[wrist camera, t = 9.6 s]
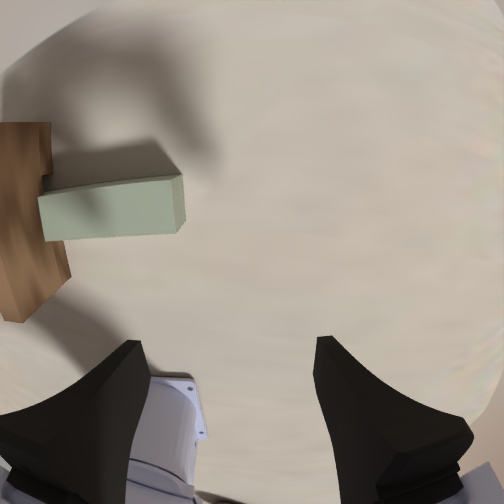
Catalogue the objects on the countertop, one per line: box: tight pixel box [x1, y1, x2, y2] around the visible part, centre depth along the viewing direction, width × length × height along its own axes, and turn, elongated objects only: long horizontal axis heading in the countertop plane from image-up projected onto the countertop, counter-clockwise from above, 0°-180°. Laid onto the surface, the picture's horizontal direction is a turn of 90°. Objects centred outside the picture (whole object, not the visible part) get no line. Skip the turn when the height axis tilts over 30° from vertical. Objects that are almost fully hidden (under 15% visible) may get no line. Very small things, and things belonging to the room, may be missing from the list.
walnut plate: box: [0, 122, 71, 323], centre depth 15 cm, size 12×2×7 cm, turn 2°
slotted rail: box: [38, 174, 186, 242], centre depth 17 cm, size 3×22×3 cm, turn 92°
